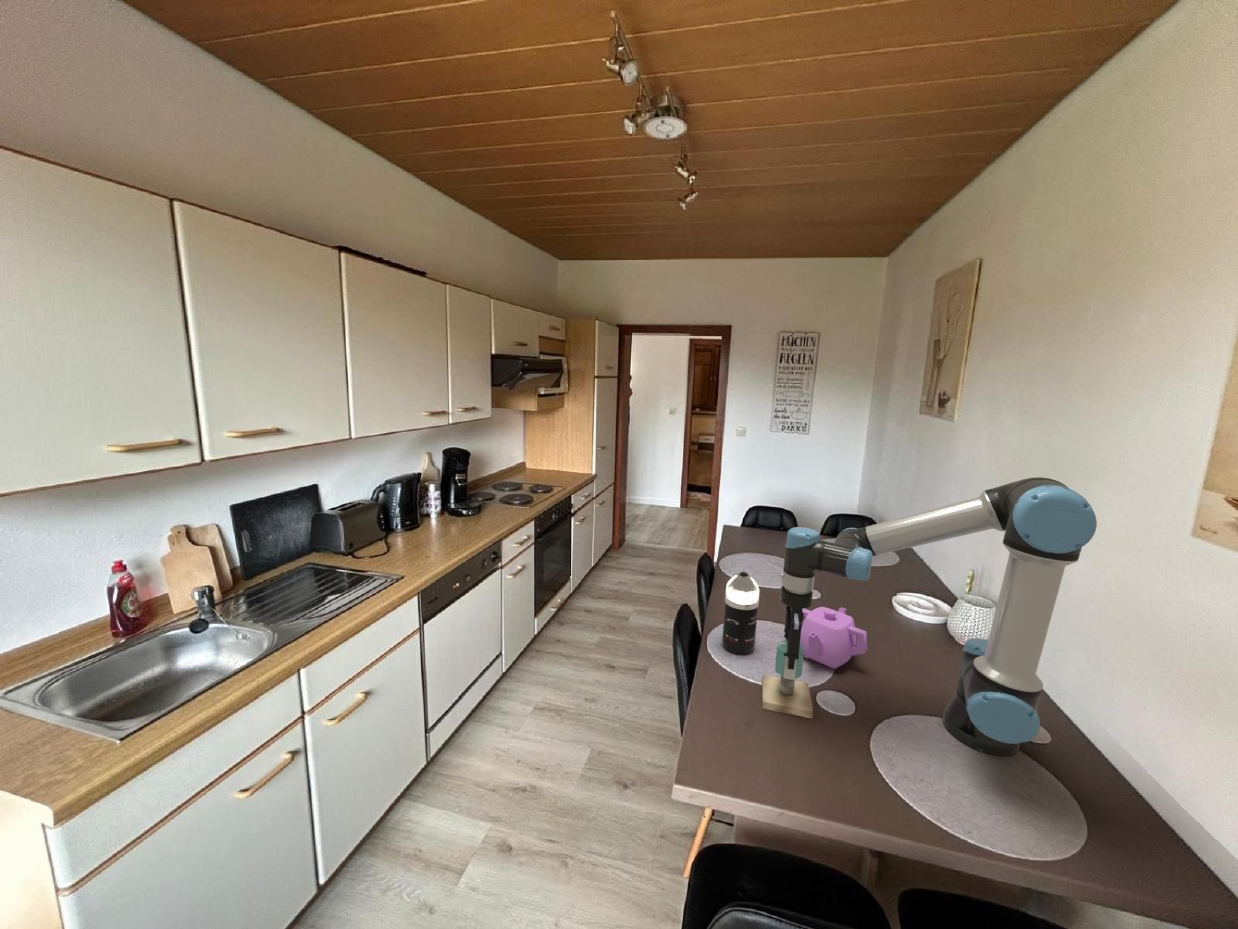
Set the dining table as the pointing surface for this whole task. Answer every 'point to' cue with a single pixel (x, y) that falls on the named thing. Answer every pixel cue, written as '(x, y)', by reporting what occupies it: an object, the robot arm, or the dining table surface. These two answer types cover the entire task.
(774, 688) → the bolt post
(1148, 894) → the dining table surface
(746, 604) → the black bottle
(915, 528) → the robot arm
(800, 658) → the cap
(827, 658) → the teapot
